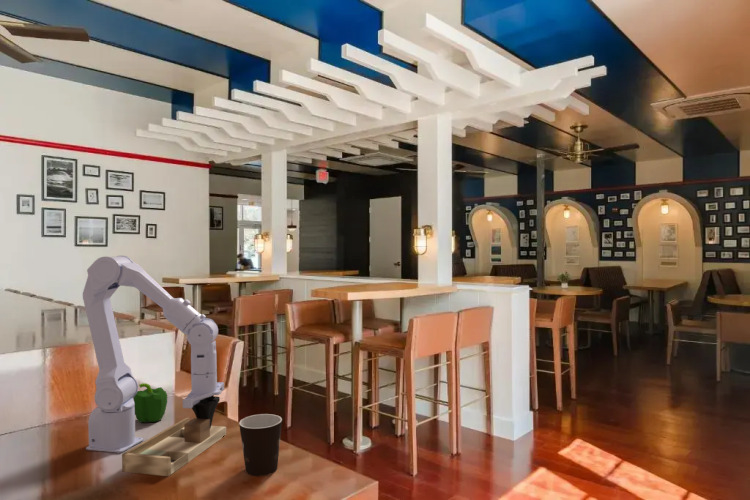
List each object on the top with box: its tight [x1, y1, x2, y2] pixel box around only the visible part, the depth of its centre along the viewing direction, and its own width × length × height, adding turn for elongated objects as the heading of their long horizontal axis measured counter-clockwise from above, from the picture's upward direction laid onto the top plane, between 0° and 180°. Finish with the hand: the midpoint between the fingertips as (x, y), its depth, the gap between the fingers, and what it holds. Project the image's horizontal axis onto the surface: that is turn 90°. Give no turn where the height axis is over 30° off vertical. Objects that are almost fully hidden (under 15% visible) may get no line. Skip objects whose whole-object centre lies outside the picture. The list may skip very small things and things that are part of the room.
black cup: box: [238, 413, 283, 477], centre depth 109 cm, size 12×9×10 cm
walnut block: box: [184, 417, 210, 443], centre depth 119 cm, size 4×4×4 cm
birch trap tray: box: [121, 417, 227, 477], centre depth 117 cm, size 11×23×4 cm, turn 167°
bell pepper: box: [133, 382, 168, 423], centre depth 138 cm, size 8×8×10 cm
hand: (205, 429), depth 122 cm, fingers closed
